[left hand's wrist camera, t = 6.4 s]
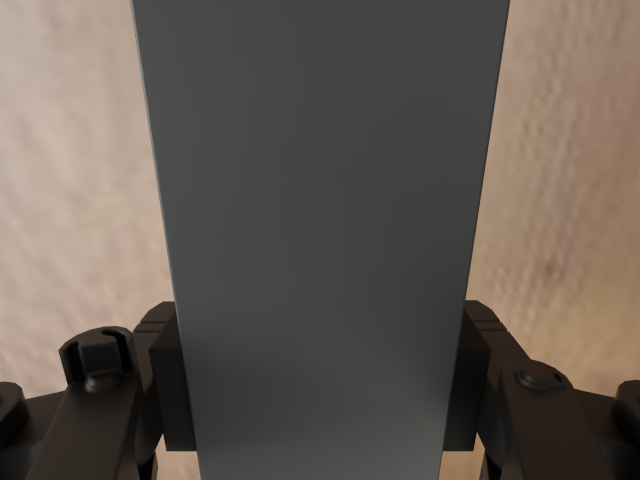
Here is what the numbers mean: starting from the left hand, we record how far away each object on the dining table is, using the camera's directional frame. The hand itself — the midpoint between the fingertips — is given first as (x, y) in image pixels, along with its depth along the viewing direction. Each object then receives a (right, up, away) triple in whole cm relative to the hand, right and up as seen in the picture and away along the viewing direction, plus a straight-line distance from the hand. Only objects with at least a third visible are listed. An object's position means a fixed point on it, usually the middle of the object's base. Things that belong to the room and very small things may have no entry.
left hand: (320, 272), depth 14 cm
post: (0, +18, -6) cm, 19 cm away
